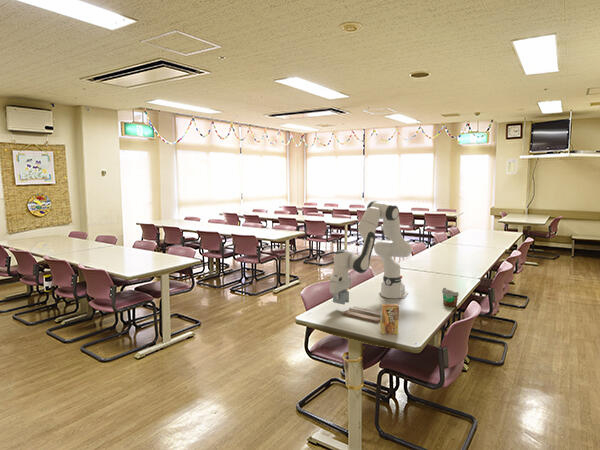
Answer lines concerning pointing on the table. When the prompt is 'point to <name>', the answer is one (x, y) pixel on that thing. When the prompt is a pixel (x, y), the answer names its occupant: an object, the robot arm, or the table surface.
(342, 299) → the block
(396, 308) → the candy box
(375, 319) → the rail board
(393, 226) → the robot arm
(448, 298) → the food container
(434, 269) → the table surface
